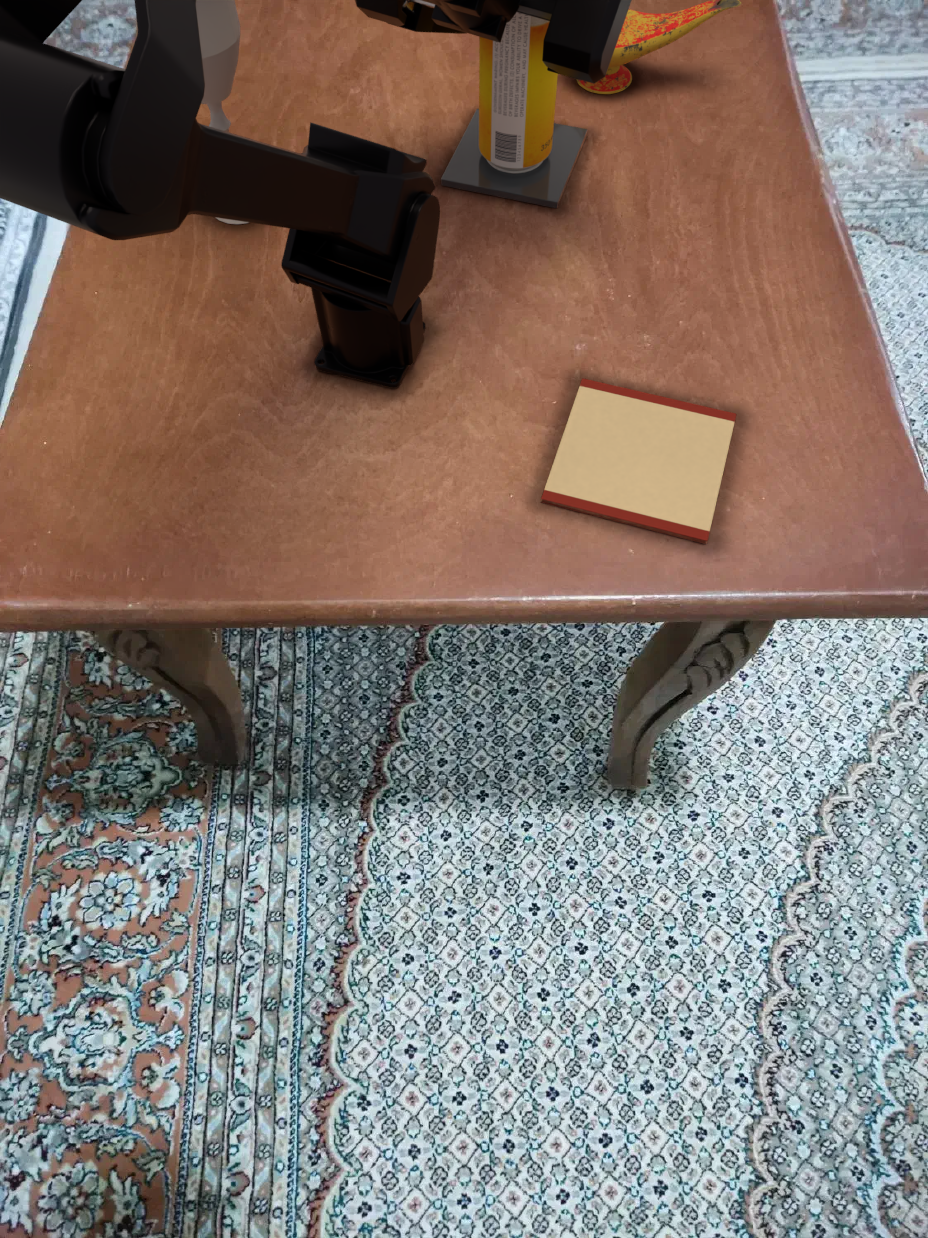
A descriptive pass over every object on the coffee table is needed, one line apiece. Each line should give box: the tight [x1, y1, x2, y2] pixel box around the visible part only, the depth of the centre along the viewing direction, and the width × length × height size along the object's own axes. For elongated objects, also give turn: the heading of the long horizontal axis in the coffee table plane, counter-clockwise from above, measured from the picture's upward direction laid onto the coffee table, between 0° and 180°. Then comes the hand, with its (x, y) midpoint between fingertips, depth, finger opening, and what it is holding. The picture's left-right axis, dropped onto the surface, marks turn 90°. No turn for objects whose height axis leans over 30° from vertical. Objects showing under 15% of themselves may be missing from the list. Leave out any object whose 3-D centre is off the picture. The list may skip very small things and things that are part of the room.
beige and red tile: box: [540, 378, 737, 545], centre depth 60 cm, size 11×11×1 cm
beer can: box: [478, 12, 559, 173], centre depth 68 cm, size 6×6×15 cm
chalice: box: [196, 0, 250, 225], centre depth 65 cm, size 7×7×18 cm
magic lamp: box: [575, 0, 742, 95], centre depth 75 cm, size 7×18×11 cm, turn 85°
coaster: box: [440, 108, 589, 209], centre depth 75 cm, size 10×10×1 cm
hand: (522, 40), depth 67 cm, fingers open, 9 cm apart
